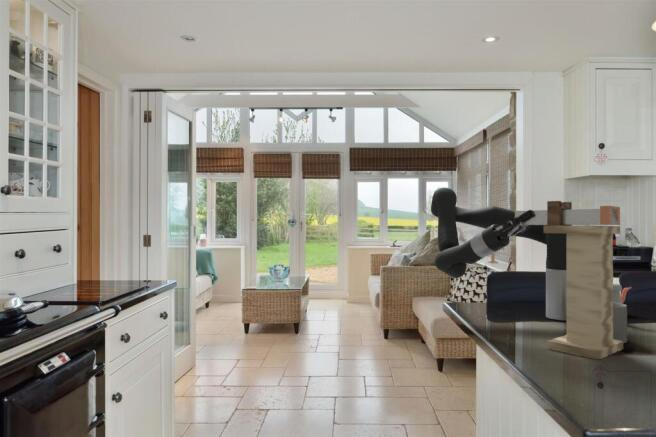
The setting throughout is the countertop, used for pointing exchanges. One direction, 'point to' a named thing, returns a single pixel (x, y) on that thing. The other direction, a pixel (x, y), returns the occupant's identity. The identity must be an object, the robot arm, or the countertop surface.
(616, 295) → the salt shaker
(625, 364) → the countertop surface
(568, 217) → the bar
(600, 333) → the shelf stand
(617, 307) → the coffee mug
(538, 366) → the countertop surface
